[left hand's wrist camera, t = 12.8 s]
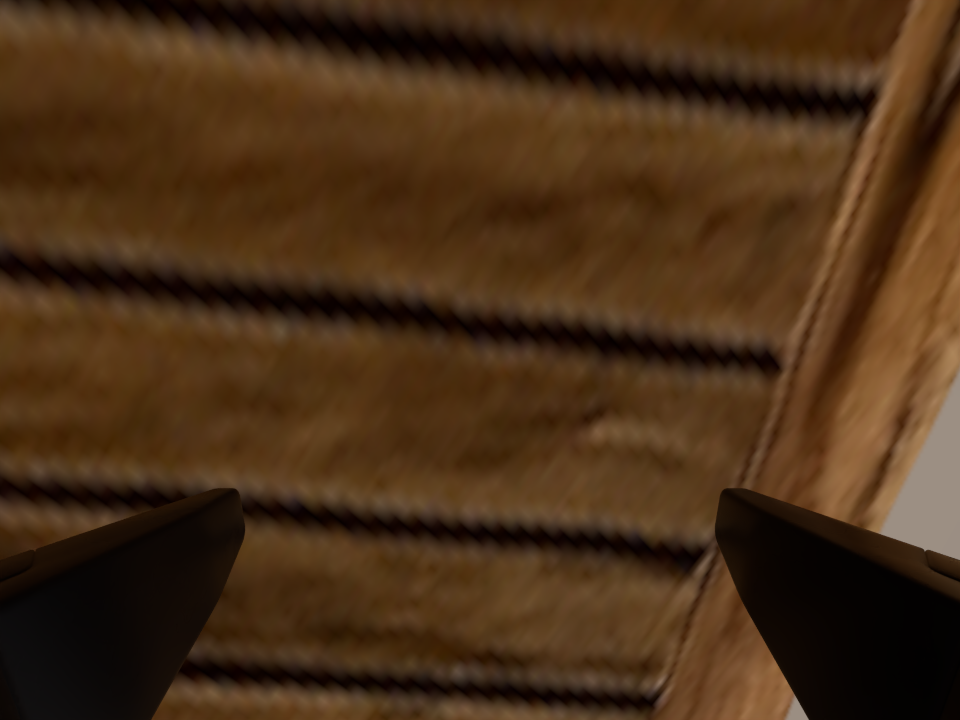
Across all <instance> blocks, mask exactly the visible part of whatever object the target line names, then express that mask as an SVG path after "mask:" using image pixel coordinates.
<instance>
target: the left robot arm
mask: <svg viewBox="0 0 960 720" xmlns="http://www.w3.org/2000/svg"><path fill="white" fill-rule="evenodd" d="M244 535H245V523H244V517H243V511H242V505H241V499H240V495H239V492H238V491H237V490H236V489H234V488H217V489H212V490H209V491H206V492H203V493H200V494H197V495H194V496H192V497H189V498H186V499H183V500H180V501H177V502H174V503H171V504H168V505H165V506H162V507H159V508H156V509H153V510H150V511H147V512H144V513H141V514H138V515H135V516H132V517H129V518H126V519H123V520H120V521H118V522H115V523H112V524H109V525H106V526H103V527H100V528H97V529H94V530H91V531H88V532H85V533H82V534H79V535H76V536H73V537H70V538H67V539H64V540H61V541H58V542H55V543H52V544H49V545H46V546H44V547H41V548H38V549H36V551H34V550H29V551H26V552H23V553H20V554H17V555H14V556H11V557H8V558H5V559H2V560H0V720H151V719H152V717H153V715H154V714H155V712H156V710H157V708H158V707H159V705H160V703H161V701H162V700H163V698H164V696H165V694H166V692H167V691H168V689H169V687H170V685H171V684H172V682H173V680H174V678H175V677H176V675H177V673H178V671H179V670H180V668H181V666H182V664H183V662H184V661H185V659H186V657H187V655H188V654H189V652H190V650H191V648H192V647H193V645H194V643H195V641H196V639H197V638H198V636H199V634H200V632H201V631H202V629H203V627H204V625H205V624H206V622H207V620H208V618H209V617H210V615H211V613H212V611H213V609H214V607H215V606H216V604H217V602H218V600H219V598H220V596H221V593H222V591H223V589H224V586H225V584H226V581H227V579H228V577H229V574H230V572H231V569H232V567H233V564H234V562H235V559H236V557H237V555H238V552H239V550H240V547H241V545H242V542H243V539H244ZM715 535H716V539H717V542H718V545H719V547H720V550H721V552H722V555H723V557H724V559H725V562H726V564H727V567H728V569H729V572H730V574H731V577H732V579H733V581H734V584H735V586H736V589H737V591H738V593H739V596H740V598H741V600H742V602H743V604H744V606H745V607H746V609H747V611H748V613H749V615H750V617H751V618H752V620H753V622H754V624H755V625H756V627H757V629H758V631H759V632H760V634H761V636H762V638H763V639H764V641H765V643H766V645H767V647H768V648H769V650H770V652H771V654H772V655H773V657H774V659H775V661H776V662H777V664H778V666H779V668H780V669H781V671H782V673H783V675H784V677H785V678H786V680H787V682H788V684H789V685H790V687H791V689H792V691H793V692H794V694H795V696H796V698H797V699H798V701H799V703H800V705H801V707H802V708H803V710H804V712H805V714H806V715H807V717H808V719H809V720H960V560H958V559H955V558H952V557H949V556H946V555H943V554H940V553H937V552H934V551H931V550H926V551H924V549H922V548H919V547H916V546H914V545H910V544H908V543H905V542H902V541H899V540H896V539H893V538H890V537H887V536H884V535H881V534H878V533H875V532H872V531H869V530H866V529H863V528H860V527H857V526H854V525H851V524H848V523H845V522H842V521H840V520H837V519H834V518H831V517H828V516H825V515H822V514H819V513H816V512H813V511H810V510H807V509H804V508H801V507H798V506H795V505H792V504H789V503H786V502H783V501H780V500H777V499H774V498H771V497H768V496H766V495H763V494H760V493H757V492H754V491H751V490H748V489H743V488H726V489H724V490H723V491H722V492H721V495H720V499H719V505H718V511H717V517H716V523H715Z"/></svg>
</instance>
